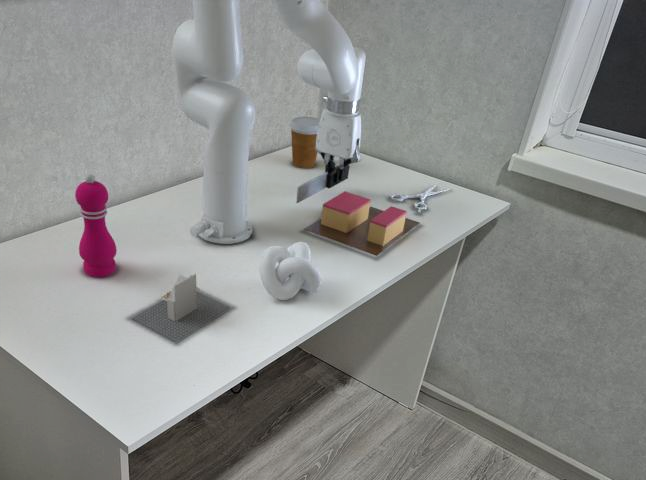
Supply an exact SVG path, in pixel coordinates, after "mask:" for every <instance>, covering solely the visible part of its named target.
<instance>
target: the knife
mask: <svg viewBox="0 0 646 480" xmlns="http://www.w3.org/2000/svg"><path fill="white" fill-rule="evenodd" d="M338 167H339V164H338V165H335V167H334V168H332V169H331V170H328V171H327V172H325V171H324V172H323V173H322V174H319V175H318V176H316V177H314V178H312V179H309V180H307V181H306V182H304V183H302V184H300V185H298V186H297V190H296V201H295V202H296V204H299V203H301V202H302V201H305V200H306V199H308V198H309V197H311V196H313V195H315V194H317V193H319V192H321V191H323V190H325V189H331V188H333V187H335V186H337V185H338V184H336V183H335V179H336V169H337V168H338ZM349 172H350V164H349V165H348V166H347V167H346V172H345V179H344V180H343V181H342V182H344V181H346V180H348V179H349Z"/></svg>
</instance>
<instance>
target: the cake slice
mask: <svg viewBox="0 0 646 480" xmlns="http://www.w3.org/2000/svg"><path fill="white" fill-rule="evenodd" d="M407 213H408V210H405V209H402V208H399V207H396V206H393V205H390V206H389V207H388V208H386V209H385V210H383V212H382V213H380V214H379V215H377V216H376V217H374V218H373V219H372V220H371V221H370V226H369V232H368V238H367V241H370V242H373V243H376V244H378V245H381V246H384V245H385V244H386V243H388V242H389V241H390V240H392V239H393V238H394V237H396V236H397V235H398V234H400V233H401V232H402V231H403V228H404V223H405V218H407Z"/></svg>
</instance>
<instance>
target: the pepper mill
mask: <svg viewBox="0 0 646 480" xmlns="http://www.w3.org/2000/svg"><path fill="white" fill-rule="evenodd" d="M74 195H75V196H74V197H75V200H76V203H77V204H78V205H79V214H80V217H82V219H83V224H84V226H83V232H82V236H81V238H80V241H79V246H78V253H79V254H78V255H79V257H80V258H81V259H82V260H83V263H82V264H83V265H82V266H83V271H84V274H86V275H87V276H89V277H91V278H104V277H105V278H106V277H108V276H110V275H113V274H114V273H115V271H116V270H117V267H116V266H117V265H116V259H115V257H116V256H117V246H116V242H115V240H114V238H113V236H112V234H111V233H110V231H109V230H108V228H107V223H106V216H107V215H108V211H107V210H108V207H107V205H106V204H107V203H108V202H109V192H108V189H107V187H106V186H105V185H104V184H103V183H102V182H100V181H98V180H96V177H95V175H94V174H92V173H87V174H86V175H85V177H84V181H83V182H81V183H79V184H78V185H77V187H76V189H75V193H74Z"/></svg>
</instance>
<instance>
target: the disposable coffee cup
mask: <svg viewBox="0 0 646 480" xmlns="http://www.w3.org/2000/svg"><path fill="white" fill-rule="evenodd" d="M319 122H320V118H317V117H314V116H296V117H293V118H292V119H291V122H290V123H289V127H290V131H291V155H292V156H291V157H292V166H295V167H297V168H299V169H310V168H314V167H315V165H316V161H317V157H318V154H319V153H318V152H317V151H316V150H315V146H316V138H317V132H318V127H319Z"/></svg>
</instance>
